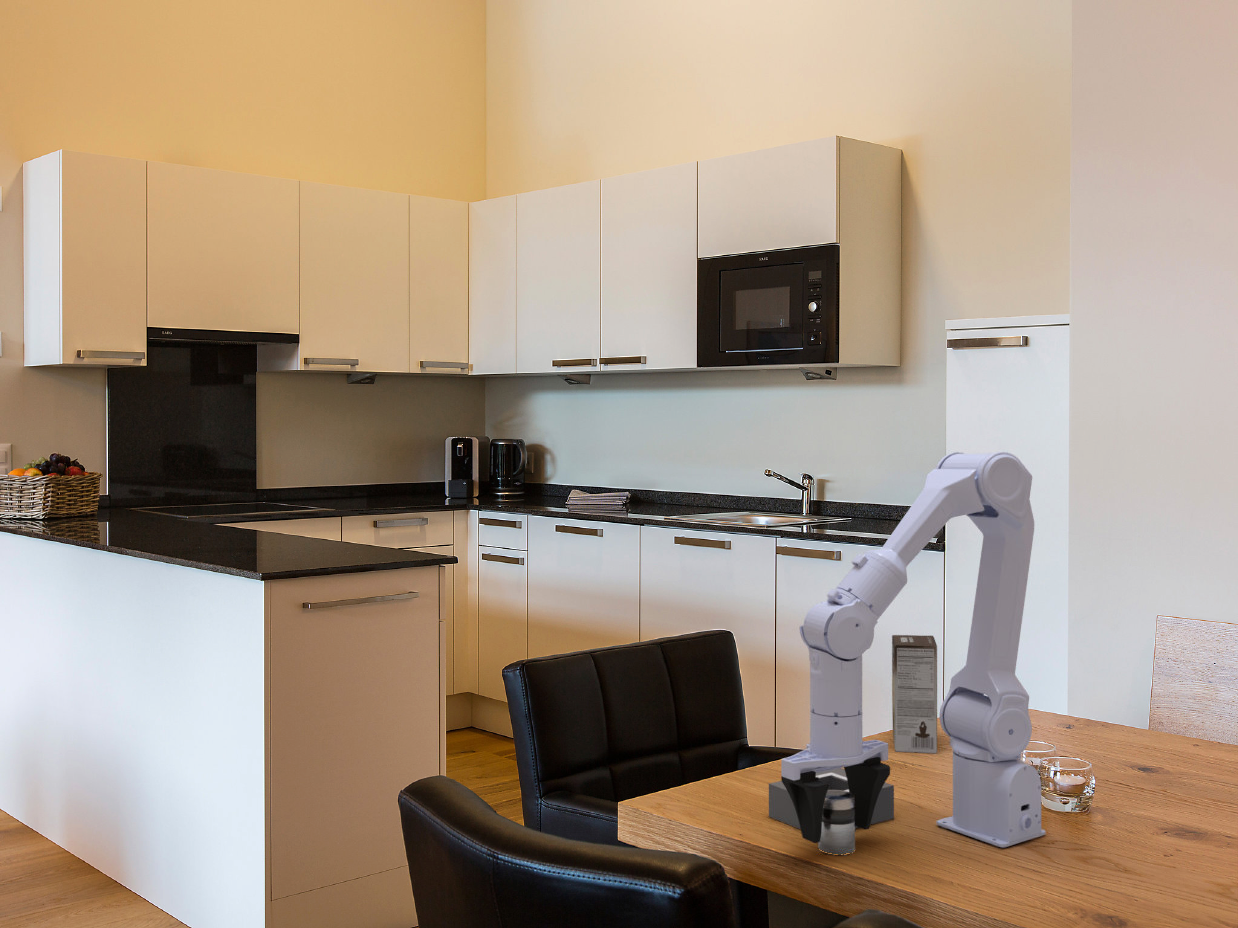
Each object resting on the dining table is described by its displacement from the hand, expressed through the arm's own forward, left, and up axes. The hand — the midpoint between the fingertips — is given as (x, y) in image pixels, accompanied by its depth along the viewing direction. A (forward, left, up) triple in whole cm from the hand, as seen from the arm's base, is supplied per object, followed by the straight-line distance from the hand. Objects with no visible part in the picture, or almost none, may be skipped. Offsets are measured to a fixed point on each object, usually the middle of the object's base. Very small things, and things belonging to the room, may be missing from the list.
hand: (836, 833), depth 120 cm
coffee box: (+25, -41, -2) cm, 48 cm away
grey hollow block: (+8, -7, -2) cm, 11 cm away
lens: (0, 0, -2) cm, 2 cm away
